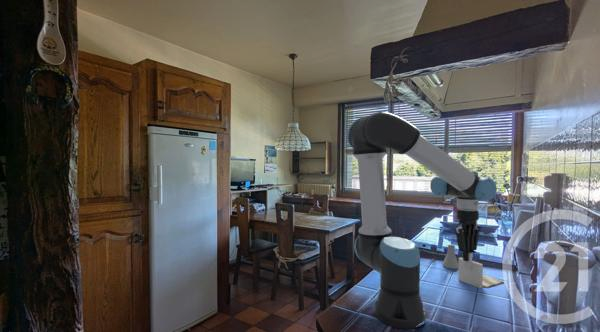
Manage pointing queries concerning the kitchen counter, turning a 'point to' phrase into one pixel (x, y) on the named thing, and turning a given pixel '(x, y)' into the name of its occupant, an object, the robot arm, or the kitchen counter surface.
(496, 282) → the board
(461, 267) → the tile
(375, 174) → the robot arm
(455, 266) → the flask
